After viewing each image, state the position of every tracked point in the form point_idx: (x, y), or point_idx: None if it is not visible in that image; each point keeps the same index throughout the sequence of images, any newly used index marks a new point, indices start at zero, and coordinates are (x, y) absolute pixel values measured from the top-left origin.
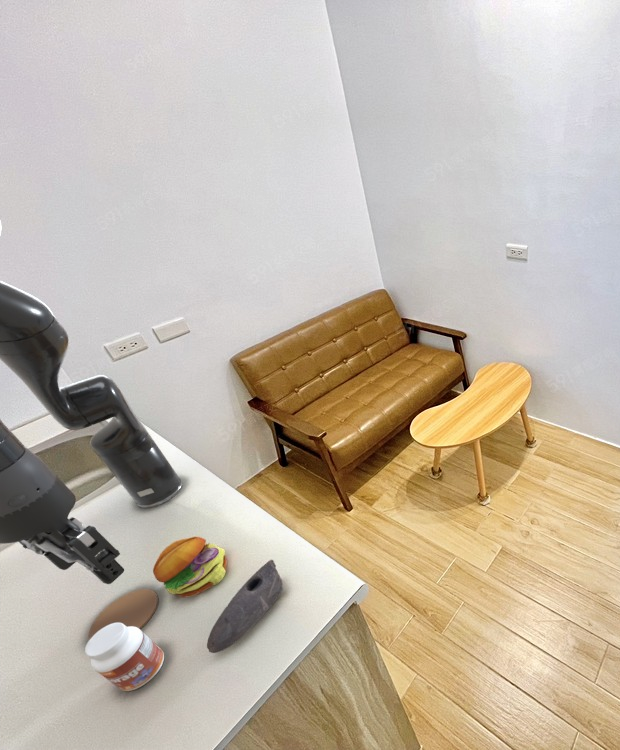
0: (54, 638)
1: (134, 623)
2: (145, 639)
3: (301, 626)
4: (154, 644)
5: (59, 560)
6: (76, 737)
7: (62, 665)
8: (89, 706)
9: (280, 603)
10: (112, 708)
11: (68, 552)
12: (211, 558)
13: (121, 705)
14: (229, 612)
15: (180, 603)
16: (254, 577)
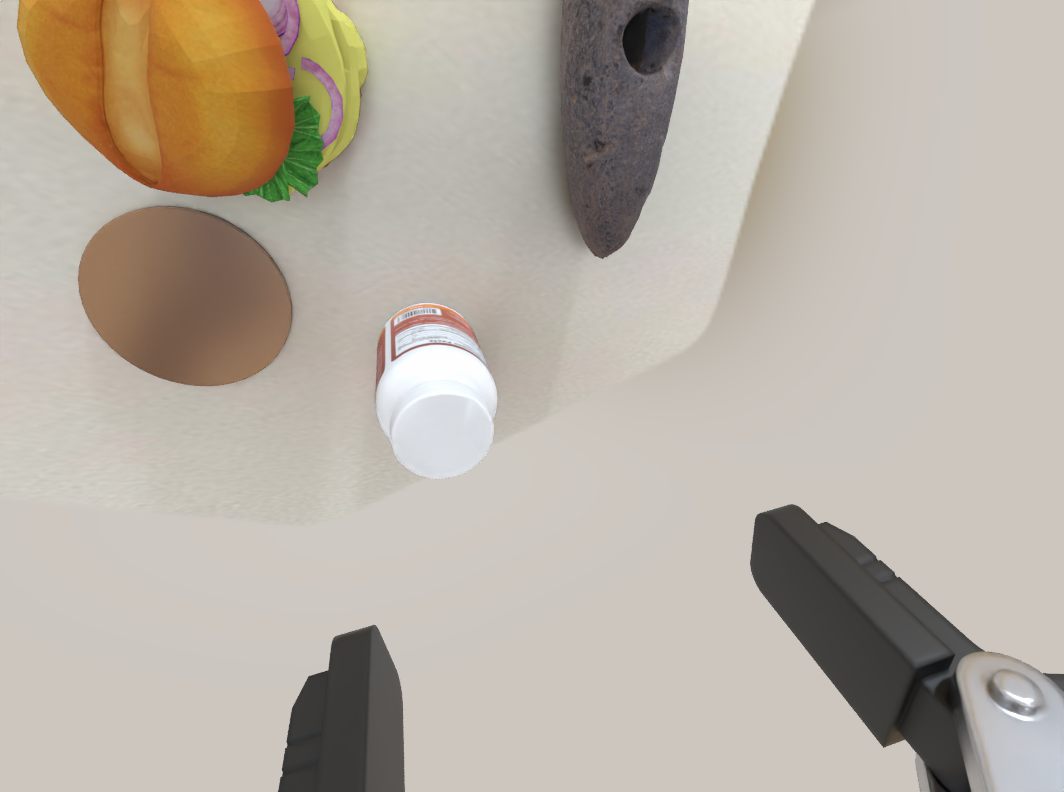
0: (78, 428)
1: (255, 300)
2: (465, 345)
3: (747, 74)
4: (445, 321)
5: (396, 773)
6: None
7: (213, 438)
8: None
9: None
10: None
11: (382, 748)
12: (291, 3)
13: None
14: (638, 169)
15: (310, 191)
16: (633, 13)
